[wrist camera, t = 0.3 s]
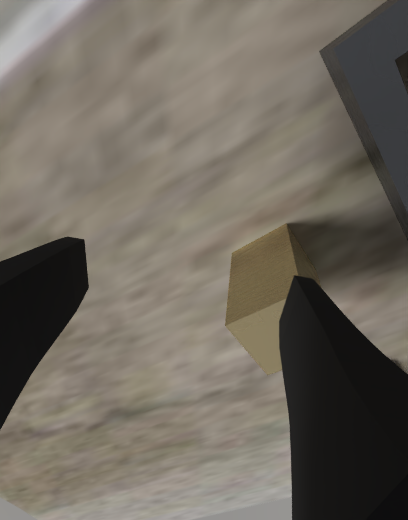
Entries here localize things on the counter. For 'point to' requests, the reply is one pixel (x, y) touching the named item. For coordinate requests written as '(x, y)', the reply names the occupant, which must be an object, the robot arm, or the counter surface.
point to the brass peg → (264, 292)
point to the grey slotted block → (377, 94)
